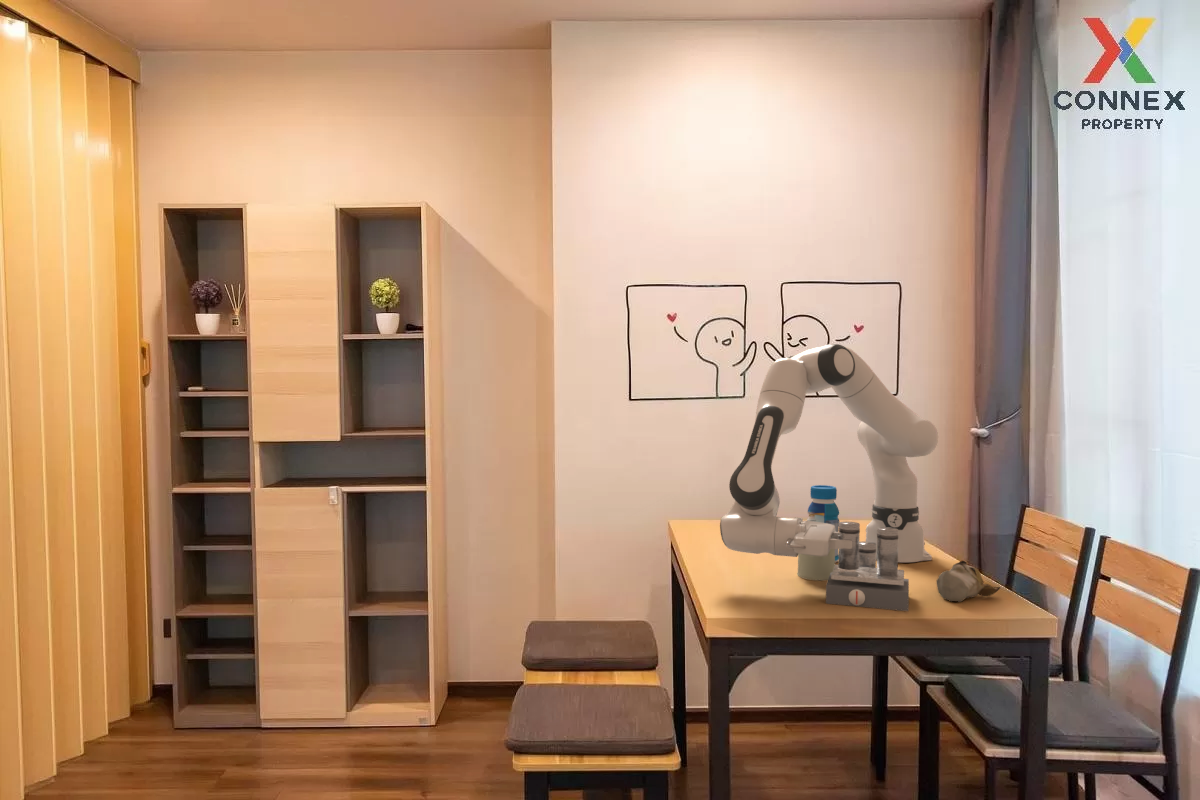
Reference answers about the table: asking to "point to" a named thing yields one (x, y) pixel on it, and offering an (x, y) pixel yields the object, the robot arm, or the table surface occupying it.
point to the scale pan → (867, 576)
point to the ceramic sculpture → (963, 583)
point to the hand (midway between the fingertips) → (853, 541)
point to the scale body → (868, 594)
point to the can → (816, 566)
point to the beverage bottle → (824, 507)
